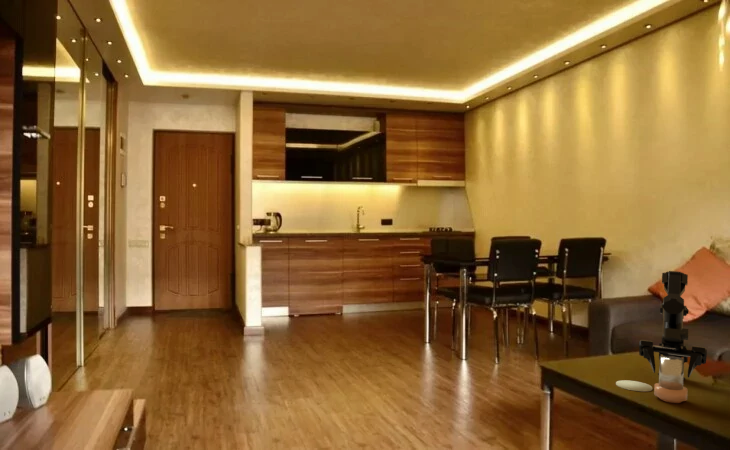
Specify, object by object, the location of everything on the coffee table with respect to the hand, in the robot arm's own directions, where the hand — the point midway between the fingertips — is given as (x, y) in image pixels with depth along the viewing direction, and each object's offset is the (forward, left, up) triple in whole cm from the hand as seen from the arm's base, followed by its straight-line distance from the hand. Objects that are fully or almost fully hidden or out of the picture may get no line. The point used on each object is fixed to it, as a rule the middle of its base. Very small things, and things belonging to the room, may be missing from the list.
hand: (671, 374), depth 171 cm
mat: (+2, -15, -8) cm, 17 cm away
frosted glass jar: (-1, -1, -4) cm, 4 cm away
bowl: (-1, -1, -8) cm, 8 cm away
